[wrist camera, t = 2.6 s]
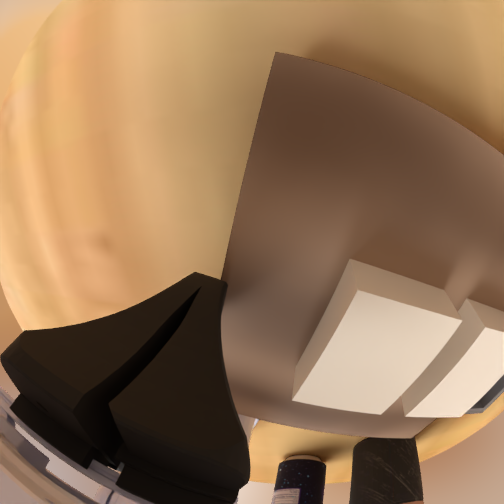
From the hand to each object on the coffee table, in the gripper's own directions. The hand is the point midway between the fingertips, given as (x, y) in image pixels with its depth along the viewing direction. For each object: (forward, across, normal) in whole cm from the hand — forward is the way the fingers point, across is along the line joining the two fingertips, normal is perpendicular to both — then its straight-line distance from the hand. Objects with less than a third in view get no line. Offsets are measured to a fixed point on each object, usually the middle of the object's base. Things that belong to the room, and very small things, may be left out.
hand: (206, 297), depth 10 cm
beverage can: (+5, -13, +25) cm, 29 cm away
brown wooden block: (+5, -8, 0) cm, 9 cm away
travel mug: (+5, -20, +18) cm, 28 cm away
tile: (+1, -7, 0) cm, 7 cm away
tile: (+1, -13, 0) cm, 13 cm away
